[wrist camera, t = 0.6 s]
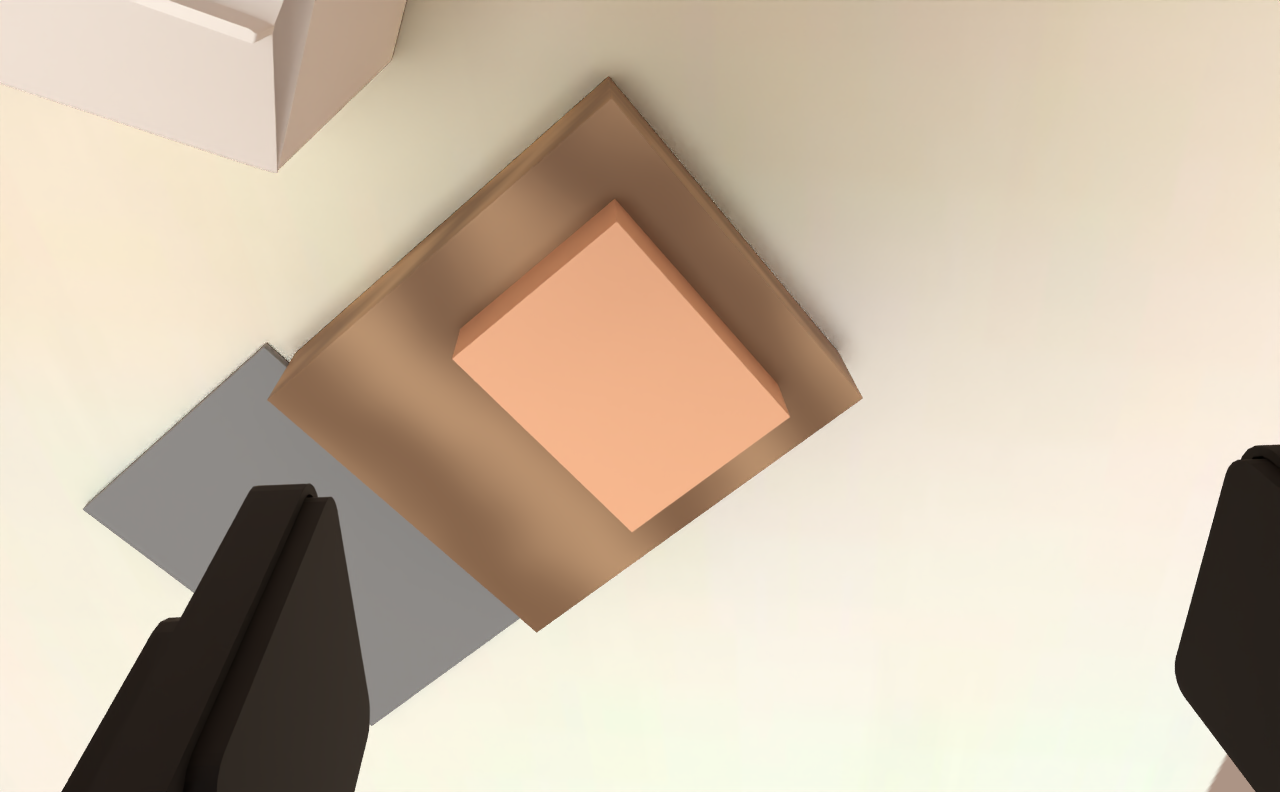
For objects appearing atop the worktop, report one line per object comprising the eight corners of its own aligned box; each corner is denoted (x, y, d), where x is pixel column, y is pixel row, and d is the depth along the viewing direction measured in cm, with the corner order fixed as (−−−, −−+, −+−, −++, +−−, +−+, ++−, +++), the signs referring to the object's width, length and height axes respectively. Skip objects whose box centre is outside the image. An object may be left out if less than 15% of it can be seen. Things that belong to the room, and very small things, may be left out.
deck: (608, 76, 36) (611, 98, 32) (838, 352, 41) (862, 398, 38) (295, 353, 40) (267, 399, 37) (540, 572, 45) (536, 632, 42)
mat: (266, 342, 40) (263, 347, 40) (547, 592, 46) (547, 598, 45) (86, 504, 43) (82, 509, 42) (373, 719, 49) (371, 725, 48)
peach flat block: (614, 198, 34) (616, 221, 32) (777, 384, 37) (790, 417, 35) (460, 328, 36) (452, 358, 33) (629, 494, 39) (631, 532, 37)
